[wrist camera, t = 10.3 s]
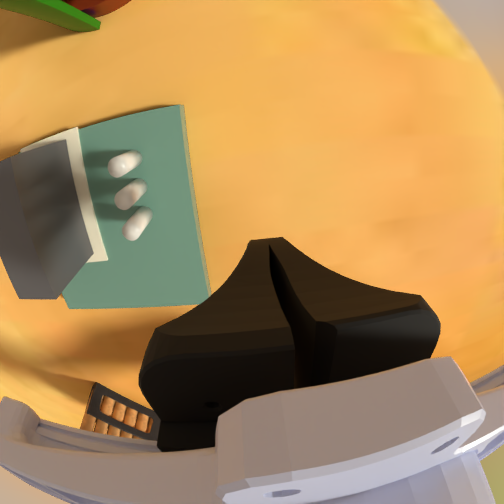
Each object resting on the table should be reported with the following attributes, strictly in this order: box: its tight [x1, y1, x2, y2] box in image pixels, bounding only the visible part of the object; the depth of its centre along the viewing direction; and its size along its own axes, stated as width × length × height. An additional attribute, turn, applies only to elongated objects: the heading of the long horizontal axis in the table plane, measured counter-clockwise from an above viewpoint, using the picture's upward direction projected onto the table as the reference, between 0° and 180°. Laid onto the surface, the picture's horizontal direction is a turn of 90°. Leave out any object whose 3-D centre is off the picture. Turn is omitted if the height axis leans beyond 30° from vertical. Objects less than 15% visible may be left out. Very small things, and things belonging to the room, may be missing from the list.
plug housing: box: [0, 139, 94, 299], centre depth 15 cm, size 9×4×6 cm, turn 4°
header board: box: [19, 105, 211, 309], centre depth 18 cm, size 15×14×4 cm
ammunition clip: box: [80, 383, 161, 441], centre depth 27 cm, size 11×2×12 cm, turn 49°
